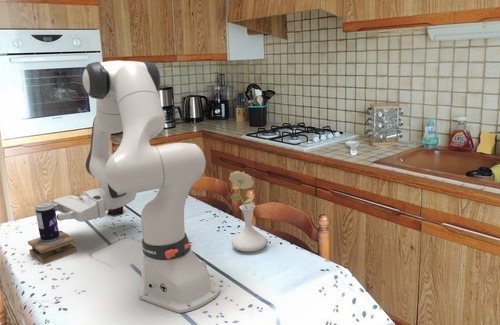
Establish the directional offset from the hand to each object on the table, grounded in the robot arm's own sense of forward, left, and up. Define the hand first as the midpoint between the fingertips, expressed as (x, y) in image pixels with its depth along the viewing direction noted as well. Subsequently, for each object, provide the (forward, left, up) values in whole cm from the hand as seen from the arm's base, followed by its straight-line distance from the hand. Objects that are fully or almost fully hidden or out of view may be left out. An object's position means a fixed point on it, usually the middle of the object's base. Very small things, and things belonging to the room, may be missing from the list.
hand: (51, 214), depth 146 cm
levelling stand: (0, +1, -13) cm, 13 cm away
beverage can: (0, +2, -8) cm, 8 cm away
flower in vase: (-47, -42, -13) cm, 64 cm away
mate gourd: (+17, -31, -13) cm, 38 cm away
